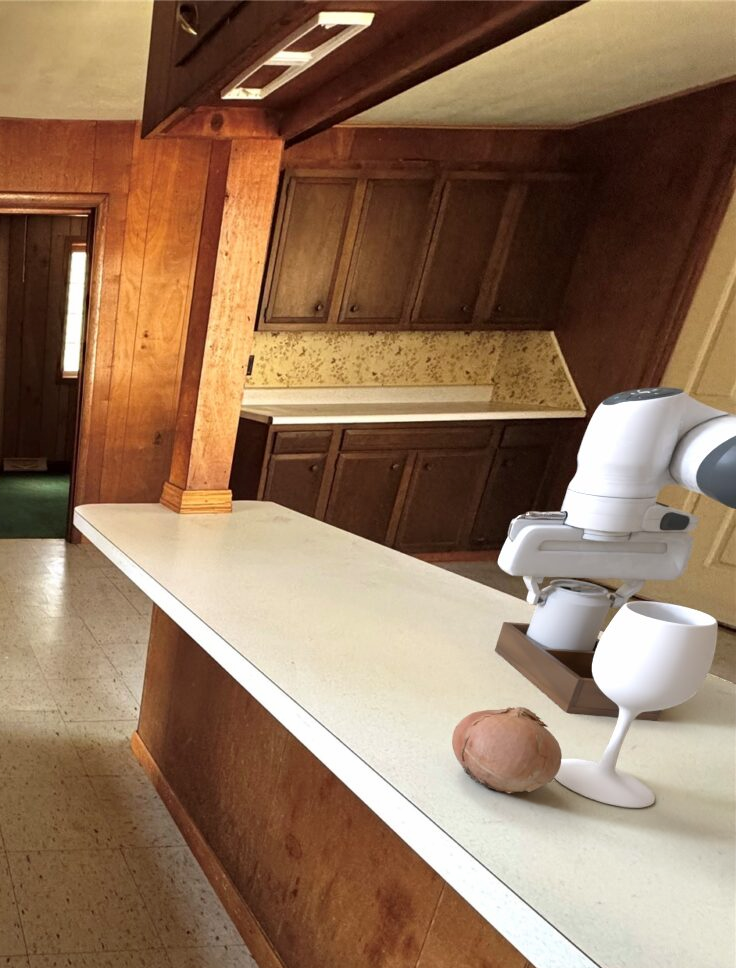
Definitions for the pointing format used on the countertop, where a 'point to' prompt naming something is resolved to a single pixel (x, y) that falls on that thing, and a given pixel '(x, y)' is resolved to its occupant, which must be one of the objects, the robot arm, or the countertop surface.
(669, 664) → the wineglass
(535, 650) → the wooden compartment tray
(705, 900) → the countertop surface
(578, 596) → the can
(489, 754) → the onion
